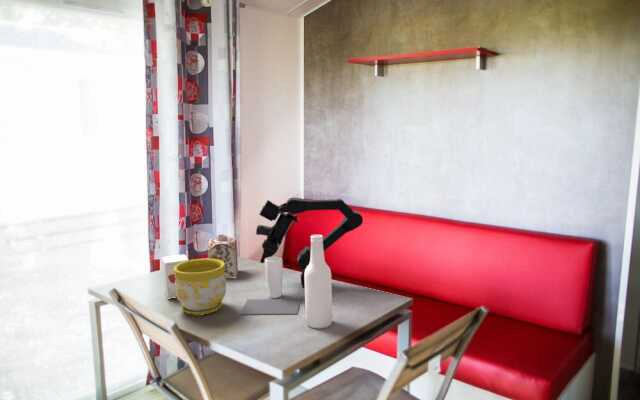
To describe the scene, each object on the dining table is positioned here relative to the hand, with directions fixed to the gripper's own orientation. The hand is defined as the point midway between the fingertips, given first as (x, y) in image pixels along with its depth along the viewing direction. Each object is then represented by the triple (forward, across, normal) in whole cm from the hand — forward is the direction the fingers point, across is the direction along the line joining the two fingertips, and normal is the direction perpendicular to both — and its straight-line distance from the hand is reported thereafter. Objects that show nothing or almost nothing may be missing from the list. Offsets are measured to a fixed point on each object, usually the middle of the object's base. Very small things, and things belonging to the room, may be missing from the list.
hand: (263, 259), depth 198 cm
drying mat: (+8, +20, +11) cm, 25 cm away
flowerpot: (+21, +21, -10) cm, 32 cm away
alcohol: (0, +36, +27) cm, 45 cm away
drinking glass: (+8, +10, +11) cm, 17 cm away
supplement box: (+28, +6, -23) cm, 36 cm away
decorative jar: (+20, -18, -12) cm, 29 cm away
